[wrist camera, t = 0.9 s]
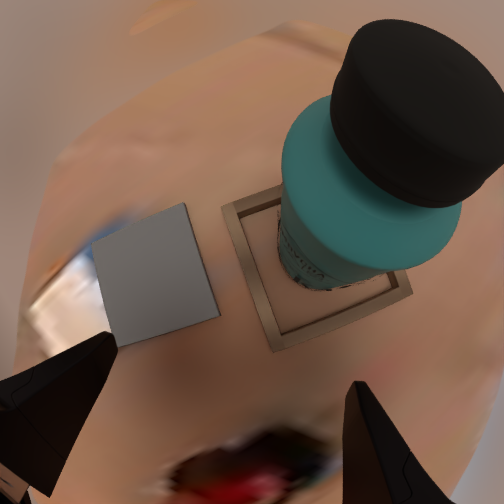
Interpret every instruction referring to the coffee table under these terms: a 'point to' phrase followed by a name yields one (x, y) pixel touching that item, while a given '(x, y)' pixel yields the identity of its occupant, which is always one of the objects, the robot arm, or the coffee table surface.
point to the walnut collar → (275, 338)
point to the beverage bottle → (387, 156)
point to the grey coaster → (153, 277)
